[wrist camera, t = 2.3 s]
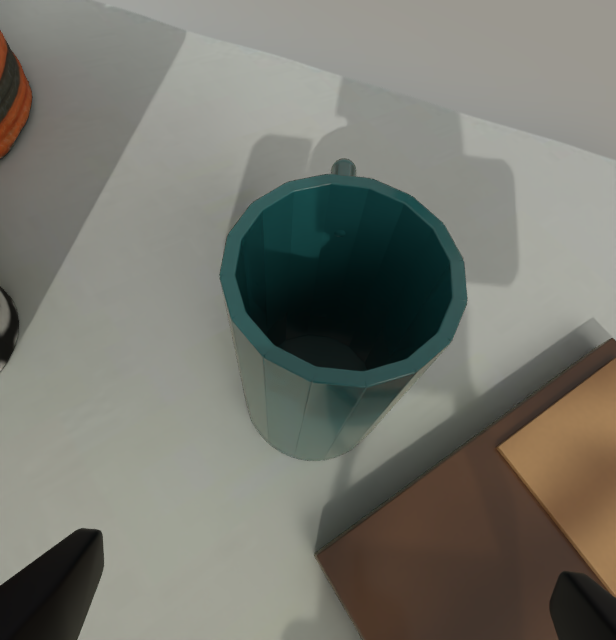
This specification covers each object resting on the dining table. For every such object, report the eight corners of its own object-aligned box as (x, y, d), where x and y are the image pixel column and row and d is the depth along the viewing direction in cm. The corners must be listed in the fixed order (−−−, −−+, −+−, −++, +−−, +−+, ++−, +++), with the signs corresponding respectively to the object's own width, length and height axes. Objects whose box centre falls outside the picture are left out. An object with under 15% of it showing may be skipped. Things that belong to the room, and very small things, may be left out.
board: (812, 575, 22) (855, 578, 20) (525, 923, 16) (553, 966, 15) (595, 347, 27) (616, 334, 25) (313, 554, 21) (316, 555, 19)
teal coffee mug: (377, 467, 23) (476, 398, 12) (237, 454, 23) (199, 371, 11) (379, 292, 27) (452, 120, 16) (262, 280, 27) (254, 98, 16)
